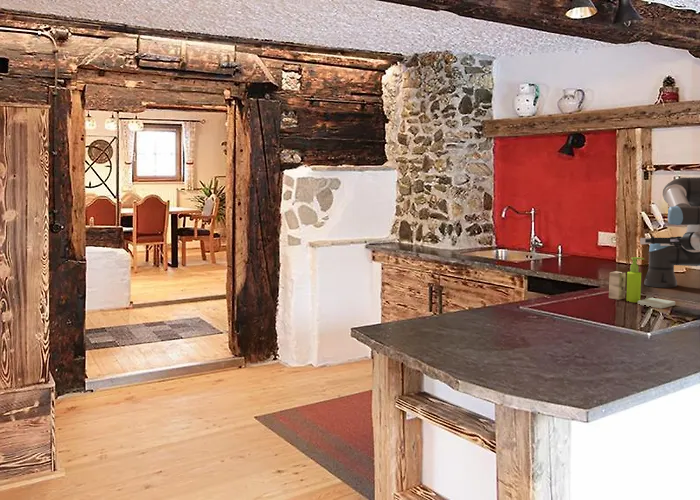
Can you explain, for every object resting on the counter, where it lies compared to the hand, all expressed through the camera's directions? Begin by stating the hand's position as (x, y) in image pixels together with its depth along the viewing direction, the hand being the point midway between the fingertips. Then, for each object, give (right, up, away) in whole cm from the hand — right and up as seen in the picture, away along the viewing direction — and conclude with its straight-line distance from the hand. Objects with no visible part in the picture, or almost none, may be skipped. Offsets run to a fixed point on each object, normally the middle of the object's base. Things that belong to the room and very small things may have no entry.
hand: (650, 241), depth 295 cm
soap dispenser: (-4, -27, +7) cm, 28 cm away
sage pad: (+1, -28, -2) cm, 28 cm away
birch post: (-10, -26, +14) cm, 31 cm away
